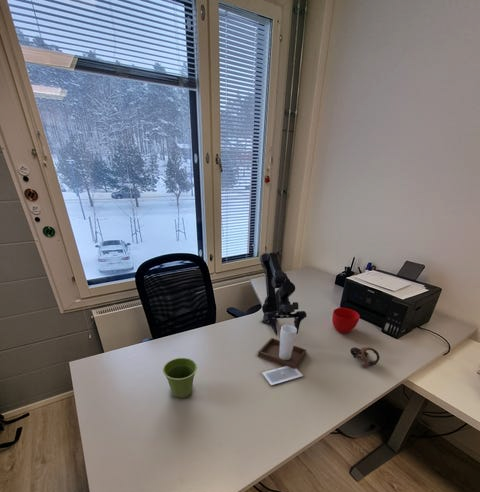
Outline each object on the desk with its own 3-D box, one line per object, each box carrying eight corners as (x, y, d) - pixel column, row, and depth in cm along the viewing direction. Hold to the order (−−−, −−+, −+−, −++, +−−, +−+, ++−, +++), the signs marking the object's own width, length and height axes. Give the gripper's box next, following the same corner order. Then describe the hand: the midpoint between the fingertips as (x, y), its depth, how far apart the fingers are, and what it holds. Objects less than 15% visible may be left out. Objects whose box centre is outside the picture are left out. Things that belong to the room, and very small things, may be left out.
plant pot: (183, 408, 93) (181, 384, 87) (159, 394, 98) (155, 370, 92) (204, 388, 102) (203, 365, 96) (181, 376, 107) (179, 353, 101)
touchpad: (302, 377, 109) (303, 373, 108) (270, 387, 104) (271, 383, 103) (292, 366, 115) (293, 362, 114) (261, 374, 110) (262, 370, 109)
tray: (258, 356, 120) (258, 351, 119) (271, 341, 130) (271, 337, 129) (294, 370, 112) (295, 365, 111) (305, 354, 123) (306, 349, 121)
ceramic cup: (346, 320, 152) (350, 304, 147) (359, 336, 137) (364, 319, 132) (324, 320, 151) (327, 304, 146) (334, 336, 136) (338, 319, 131)
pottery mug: (372, 357, 123) (382, 349, 116) (369, 374, 119) (380, 368, 111) (347, 346, 125) (356, 338, 117) (343, 363, 120) (352, 357, 113)
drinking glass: (295, 358, 119) (300, 329, 111) (285, 363, 115) (289, 334, 108) (284, 350, 123) (288, 322, 116) (274, 356, 120) (277, 327, 112)
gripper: (267, 296, 113) (271, 332, 109) (308, 294, 116) (314, 329, 112) (261, 304, 124) (265, 337, 120) (299, 303, 127) (304, 335, 123)
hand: (287, 334), depth 119 cm, fingers open, 9 cm apart
